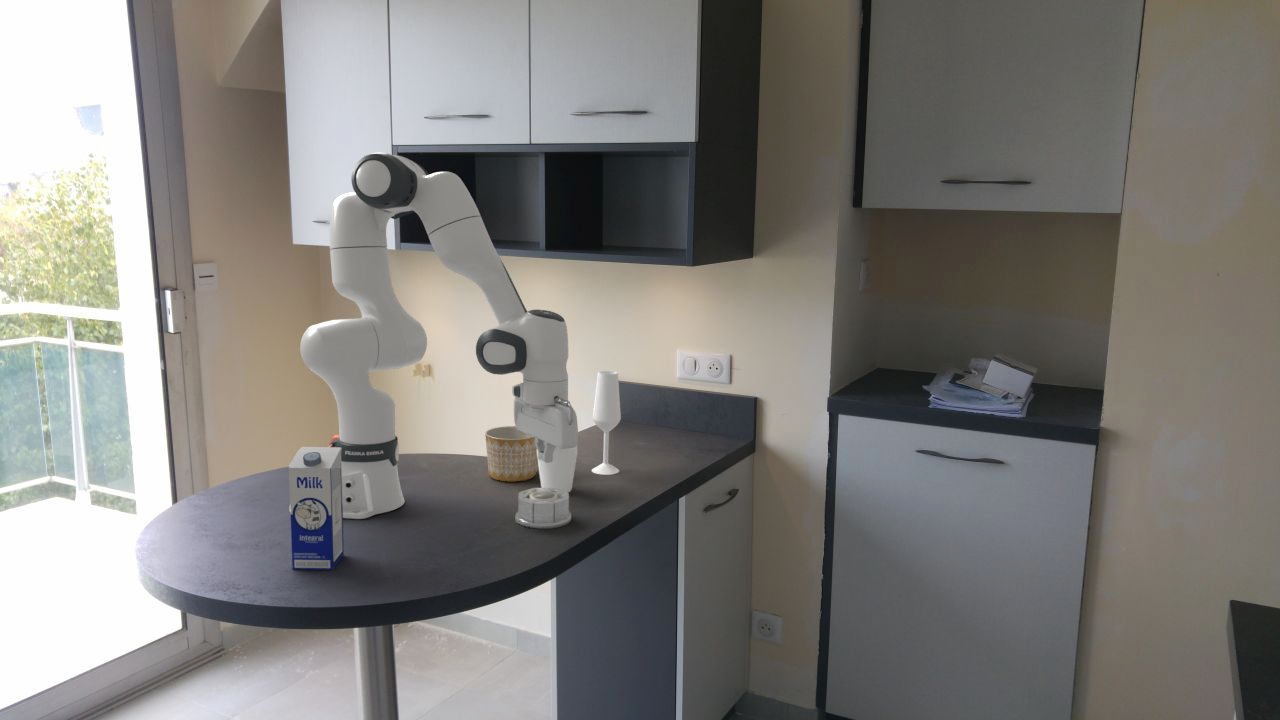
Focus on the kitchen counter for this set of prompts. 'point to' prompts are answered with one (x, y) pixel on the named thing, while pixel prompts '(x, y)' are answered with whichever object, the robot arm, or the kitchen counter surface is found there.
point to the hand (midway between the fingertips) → (545, 460)
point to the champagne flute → (606, 413)
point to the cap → (543, 496)
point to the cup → (558, 469)
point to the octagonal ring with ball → (543, 510)
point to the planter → (511, 454)
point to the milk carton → (316, 508)
